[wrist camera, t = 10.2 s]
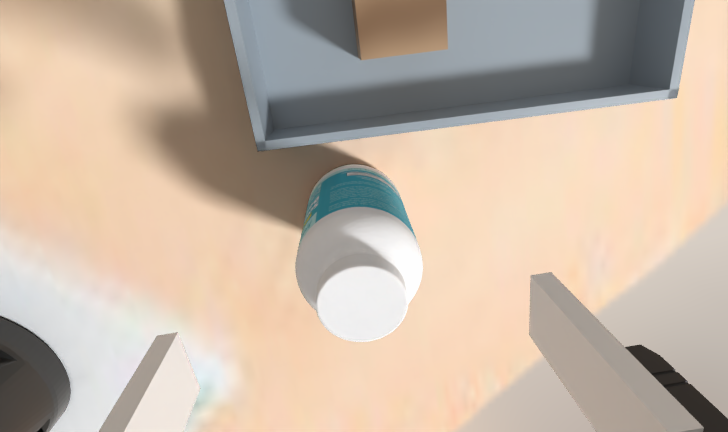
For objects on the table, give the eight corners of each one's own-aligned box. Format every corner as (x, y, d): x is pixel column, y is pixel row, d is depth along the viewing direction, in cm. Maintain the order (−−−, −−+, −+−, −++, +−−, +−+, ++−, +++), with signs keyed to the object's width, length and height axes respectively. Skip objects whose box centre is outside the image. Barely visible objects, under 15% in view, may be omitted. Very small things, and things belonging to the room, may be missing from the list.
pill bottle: (301, 167, 31) (274, 247, 19) (396, 156, 31) (433, 228, 19) (316, 252, 34) (301, 371, 22) (403, 242, 34) (438, 354, 22)
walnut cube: (348, -26, 26) (350, -42, 21) (426, -36, 26) (444, -54, 21) (358, 58, 28) (361, 60, 23) (430, 49, 28) (448, 49, 23)
